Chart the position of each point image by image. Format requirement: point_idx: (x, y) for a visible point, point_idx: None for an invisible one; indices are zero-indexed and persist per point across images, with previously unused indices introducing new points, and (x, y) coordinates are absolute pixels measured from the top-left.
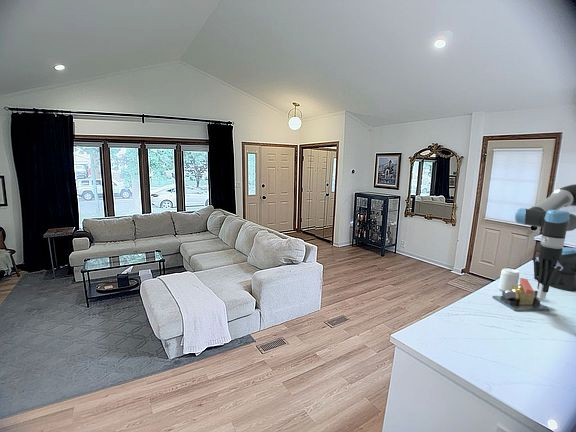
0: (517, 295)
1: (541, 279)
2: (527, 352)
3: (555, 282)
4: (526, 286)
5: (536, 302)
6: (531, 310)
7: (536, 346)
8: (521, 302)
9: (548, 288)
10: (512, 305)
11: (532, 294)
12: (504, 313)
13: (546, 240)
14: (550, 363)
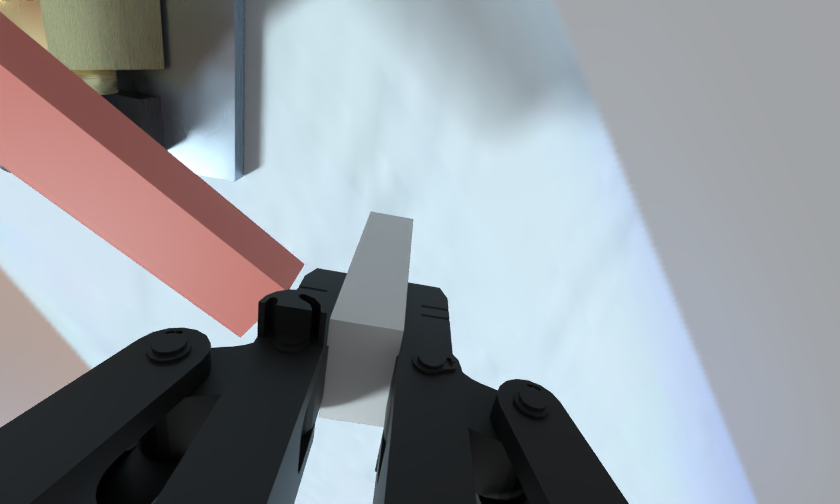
0: None
1: (298, 471)
2: None
3: (593, 471)
4: (126, 233)
5: None
6: (242, 13)
7: (582, 419)
8: (149, 49)
9: (448, 333)
10: (178, 143)
11: (299, 269)
12: None
13: None
14: (671, 469)
